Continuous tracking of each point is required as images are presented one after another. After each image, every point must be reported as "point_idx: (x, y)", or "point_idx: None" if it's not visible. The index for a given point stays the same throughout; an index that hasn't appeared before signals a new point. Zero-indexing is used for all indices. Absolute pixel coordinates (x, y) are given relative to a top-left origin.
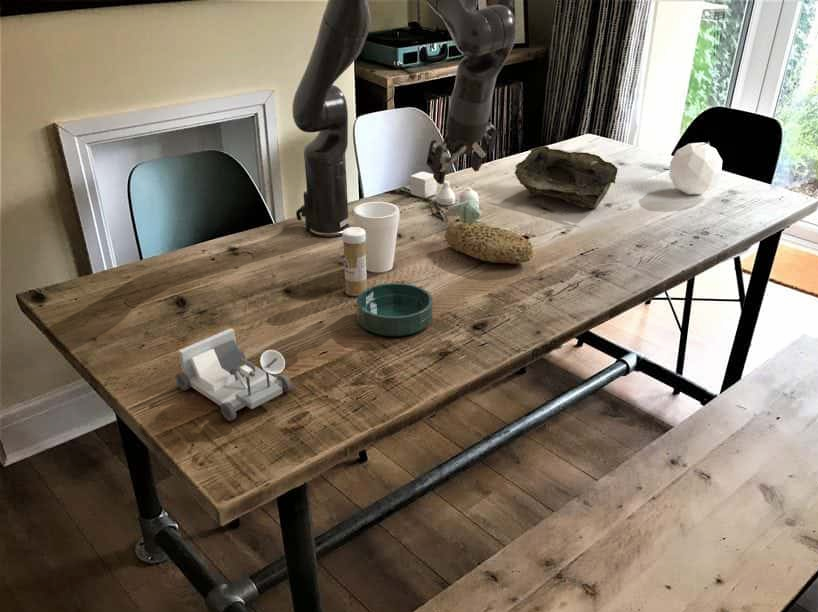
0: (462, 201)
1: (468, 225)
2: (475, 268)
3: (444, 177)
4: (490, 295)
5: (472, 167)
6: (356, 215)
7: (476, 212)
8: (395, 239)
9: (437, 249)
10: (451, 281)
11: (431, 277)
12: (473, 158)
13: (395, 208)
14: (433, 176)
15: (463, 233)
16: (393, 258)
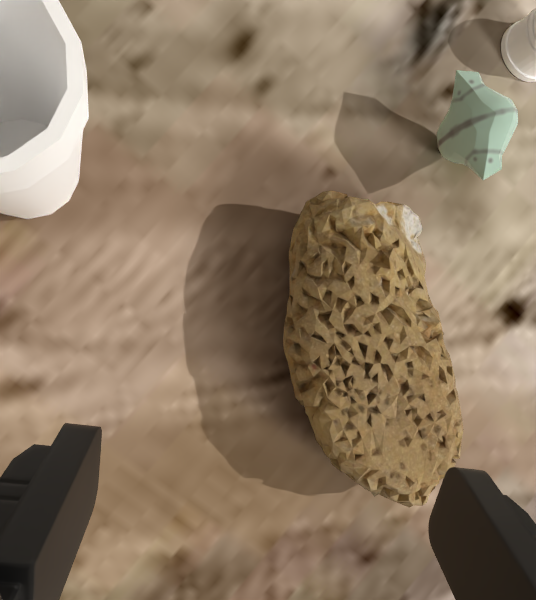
0: (525, 33)
1: (380, 248)
2: (269, 383)
3: (68, 572)
4: (176, 564)
5: (444, 495)
6: None
7: (480, 165)
8: (50, 189)
9: (269, 203)
10: (146, 411)
11: (114, 349)
12: (494, 568)
13: (56, 112)
14: (9, 466)
15: (323, 288)
16: (60, 200)
